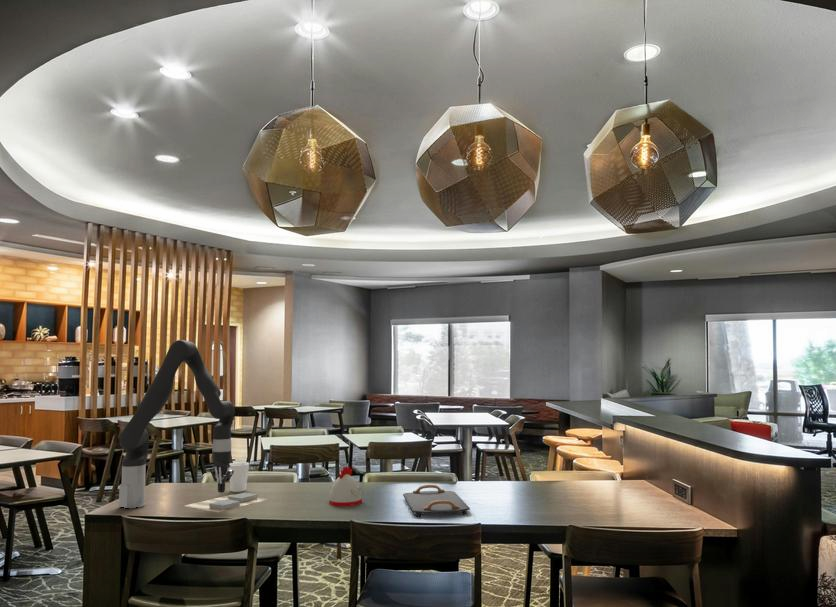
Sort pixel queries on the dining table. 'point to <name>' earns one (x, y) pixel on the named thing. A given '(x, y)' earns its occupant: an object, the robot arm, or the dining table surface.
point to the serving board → (435, 501)
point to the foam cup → (239, 476)
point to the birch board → (205, 504)
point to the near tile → (224, 504)
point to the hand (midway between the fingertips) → (221, 492)
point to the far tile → (243, 497)
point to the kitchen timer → (345, 490)
